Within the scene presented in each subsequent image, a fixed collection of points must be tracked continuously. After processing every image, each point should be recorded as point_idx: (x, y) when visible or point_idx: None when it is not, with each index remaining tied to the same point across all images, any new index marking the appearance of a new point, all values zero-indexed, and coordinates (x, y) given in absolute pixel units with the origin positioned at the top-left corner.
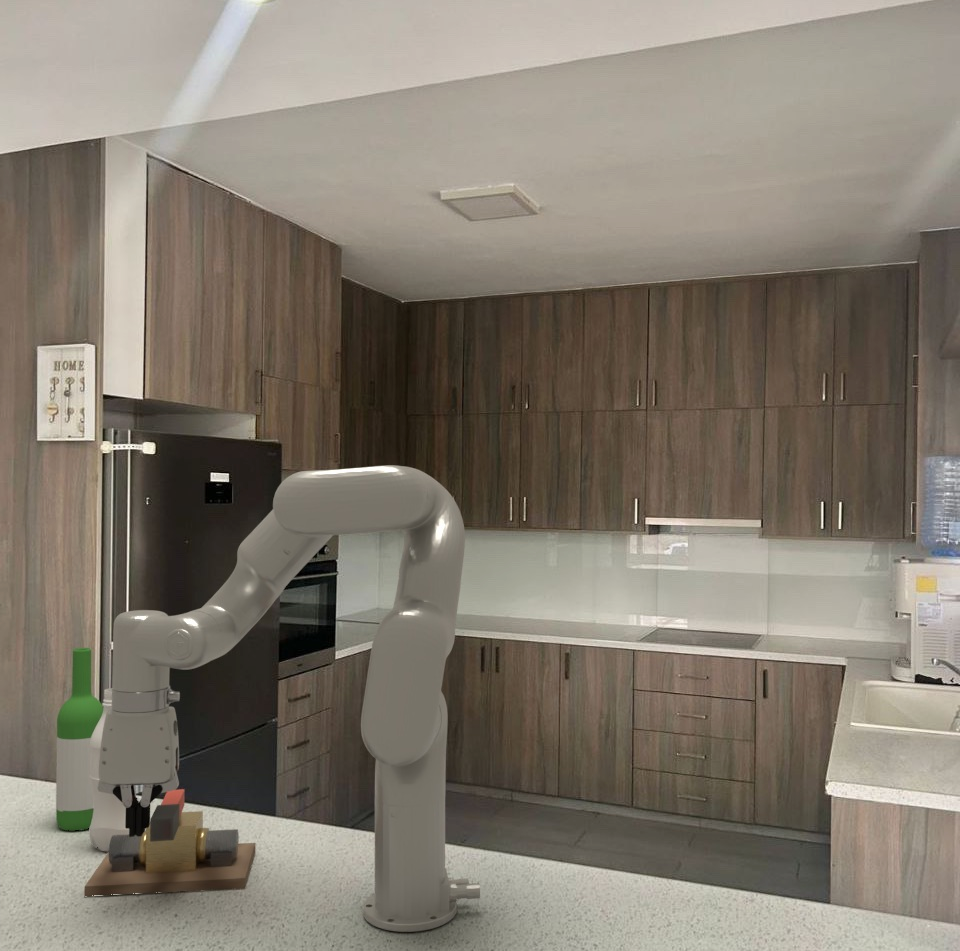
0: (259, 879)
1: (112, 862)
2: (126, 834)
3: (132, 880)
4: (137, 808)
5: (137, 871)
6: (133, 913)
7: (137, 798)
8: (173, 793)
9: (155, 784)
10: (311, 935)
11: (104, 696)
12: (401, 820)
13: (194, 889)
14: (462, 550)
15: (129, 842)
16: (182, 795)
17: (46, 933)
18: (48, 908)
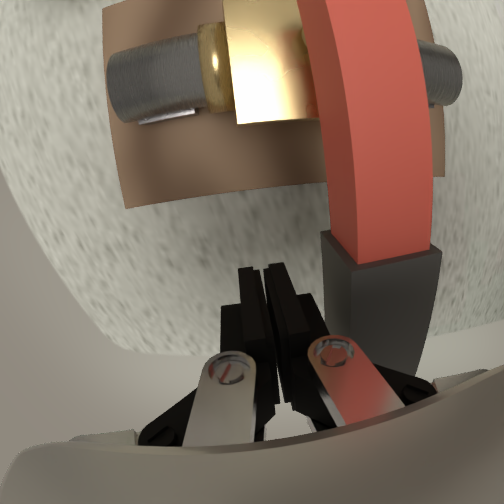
0: (447, 133)
1: (143, 124)
2: (145, 61)
3: (219, 173)
4: (288, 401)
5: (211, 117)
6: (261, 270)
7: (271, 379)
8: (371, 26)
9: (396, 405)
10: (476, 314)
11: None
12: None
13: None
14: None
15: (171, 98)
16: (414, 49)
17: (150, 332)
18: (97, 251)
